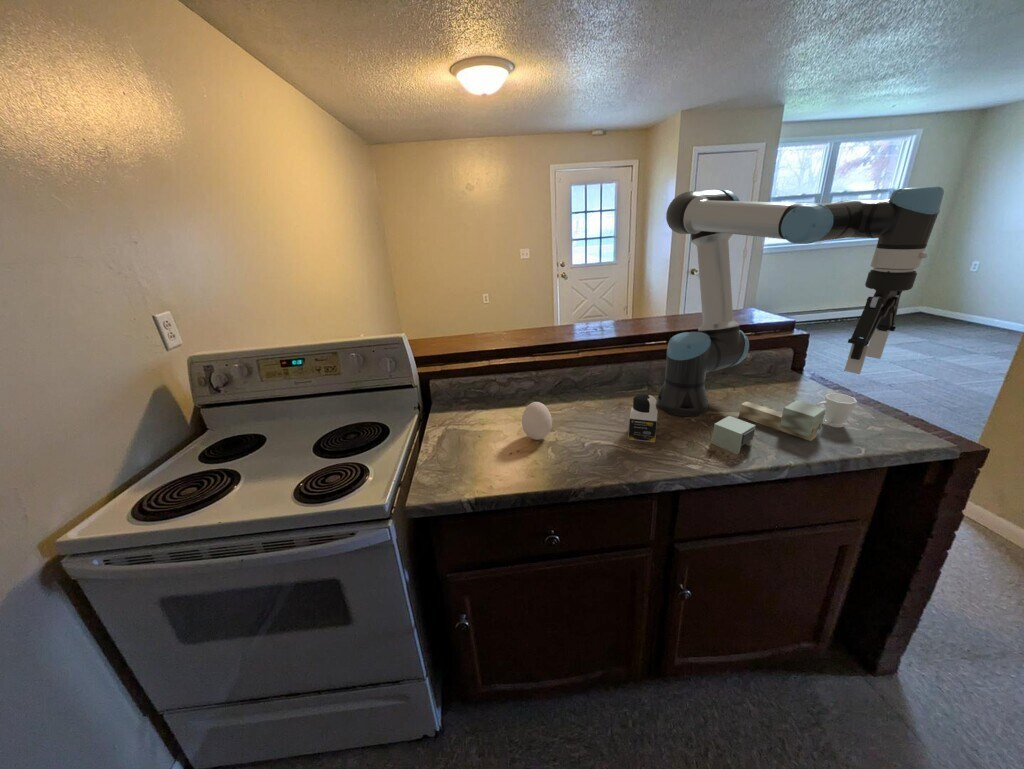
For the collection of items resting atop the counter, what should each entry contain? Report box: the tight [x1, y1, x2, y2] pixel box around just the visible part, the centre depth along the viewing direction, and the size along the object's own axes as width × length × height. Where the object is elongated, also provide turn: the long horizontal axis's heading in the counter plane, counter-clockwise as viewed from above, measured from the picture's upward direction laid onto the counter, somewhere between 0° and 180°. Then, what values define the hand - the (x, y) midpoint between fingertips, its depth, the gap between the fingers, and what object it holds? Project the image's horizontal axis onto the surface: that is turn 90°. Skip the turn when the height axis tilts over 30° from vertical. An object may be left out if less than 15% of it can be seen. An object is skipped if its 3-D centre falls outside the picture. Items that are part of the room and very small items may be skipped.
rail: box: [738, 399, 826, 442], centre depth 112 cm, size 19×7×8 cm, turn 34°
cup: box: [815, 392, 858, 428], centre depth 111 cm, size 7×10×8 cm
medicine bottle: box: [628, 393, 658, 443], centre depth 111 cm, size 7×7×12 cm
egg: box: [521, 401, 553, 441], centre depth 113 cm, size 9×9×11 cm
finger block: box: [711, 415, 757, 455], centre depth 105 cm, size 7×7×6 cm
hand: (862, 364), depth 91 cm, fingers open, 13 cm apart
